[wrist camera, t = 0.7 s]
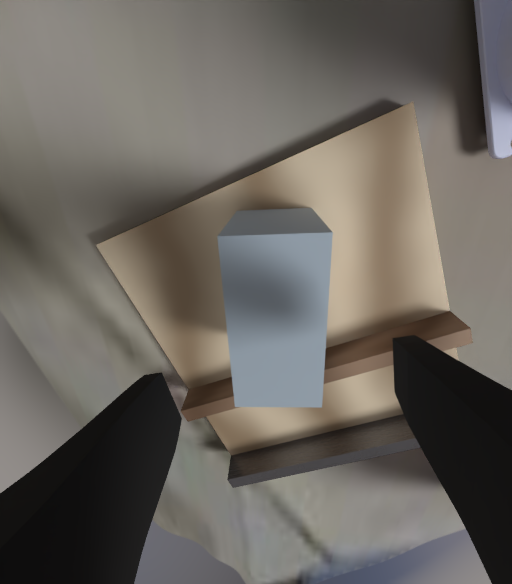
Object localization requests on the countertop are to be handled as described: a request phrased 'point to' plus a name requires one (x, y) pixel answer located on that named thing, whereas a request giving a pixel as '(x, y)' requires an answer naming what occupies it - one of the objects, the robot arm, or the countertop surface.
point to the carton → (276, 305)
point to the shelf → (342, 290)
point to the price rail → (322, 451)
